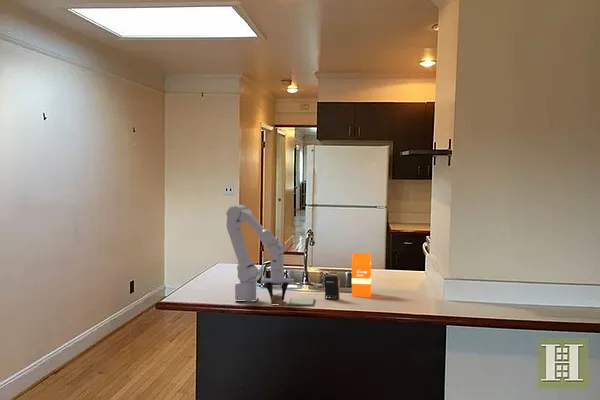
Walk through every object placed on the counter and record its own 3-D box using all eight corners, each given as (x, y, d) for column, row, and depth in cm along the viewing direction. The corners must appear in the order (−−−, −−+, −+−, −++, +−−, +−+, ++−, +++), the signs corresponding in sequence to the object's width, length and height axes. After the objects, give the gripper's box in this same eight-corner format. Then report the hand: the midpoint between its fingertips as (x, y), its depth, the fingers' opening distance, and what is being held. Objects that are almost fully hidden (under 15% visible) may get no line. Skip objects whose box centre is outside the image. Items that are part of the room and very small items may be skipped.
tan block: (271, 305, 231) (271, 297, 230) (273, 301, 238) (273, 293, 238) (281, 305, 230) (281, 297, 230) (283, 301, 238) (283, 293, 238)
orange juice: (370, 296, 245) (370, 254, 244) (351, 296, 247) (351, 254, 246) (371, 293, 253) (371, 252, 252) (353, 292, 254) (353, 251, 253)
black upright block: (322, 299, 240) (322, 275, 239) (326, 298, 243) (326, 273, 243) (337, 301, 237) (336, 276, 236) (340, 299, 240) (340, 274, 240)
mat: (288, 305, 229) (288, 304, 229) (291, 299, 240) (291, 298, 240) (313, 306, 228) (313, 304, 228) (315, 300, 239) (315, 298, 239)
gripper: (259, 270, 230) (259, 301, 231) (292, 271, 229) (292, 301, 230) (262, 268, 237) (262, 297, 238) (293, 268, 236) (294, 298, 237)
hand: (277, 299), depth 234 cm, fingers closed on tan block, 4 cm apart
